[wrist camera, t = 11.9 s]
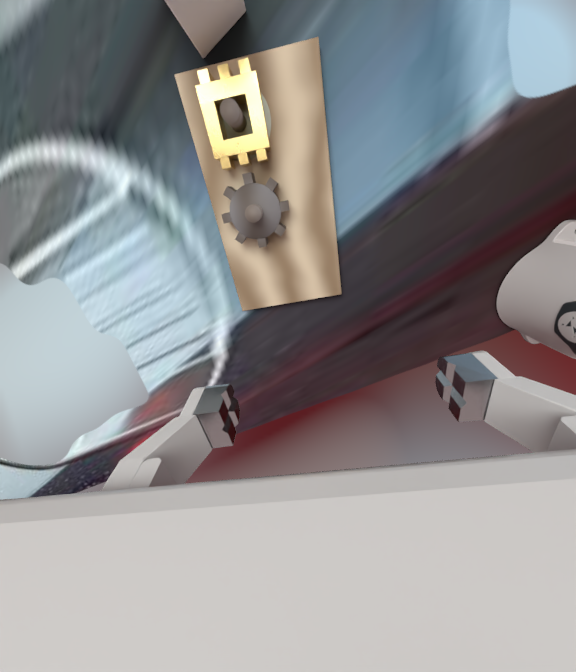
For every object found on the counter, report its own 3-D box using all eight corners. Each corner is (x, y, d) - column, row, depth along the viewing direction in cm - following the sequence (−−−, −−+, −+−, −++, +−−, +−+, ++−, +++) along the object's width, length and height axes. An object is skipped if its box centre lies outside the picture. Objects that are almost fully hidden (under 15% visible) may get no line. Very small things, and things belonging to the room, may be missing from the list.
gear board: (316, 44, 27) (324, 5, 22) (339, 290, 40) (348, 307, 34) (179, 79, 29) (152, 52, 23) (244, 307, 41) (236, 325, 36)
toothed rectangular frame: (256, 68, 27) (253, 55, 24) (273, 160, 31) (271, 158, 28) (201, 83, 28) (191, 71, 25) (223, 171, 31) (217, 170, 29)
